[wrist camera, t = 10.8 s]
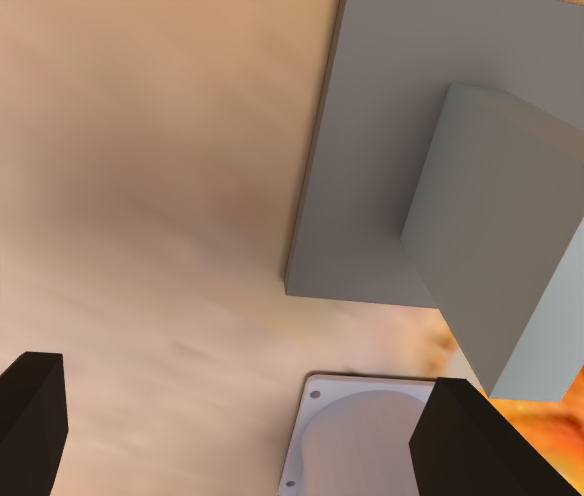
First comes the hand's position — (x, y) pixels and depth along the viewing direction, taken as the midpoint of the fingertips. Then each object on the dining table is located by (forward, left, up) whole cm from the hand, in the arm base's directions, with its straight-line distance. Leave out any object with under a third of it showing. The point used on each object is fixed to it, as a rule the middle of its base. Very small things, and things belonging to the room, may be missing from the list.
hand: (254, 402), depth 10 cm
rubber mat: (+2, -7, -10) cm, 13 cm away
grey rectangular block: (+2, -7, -9) cm, 12 cm away
